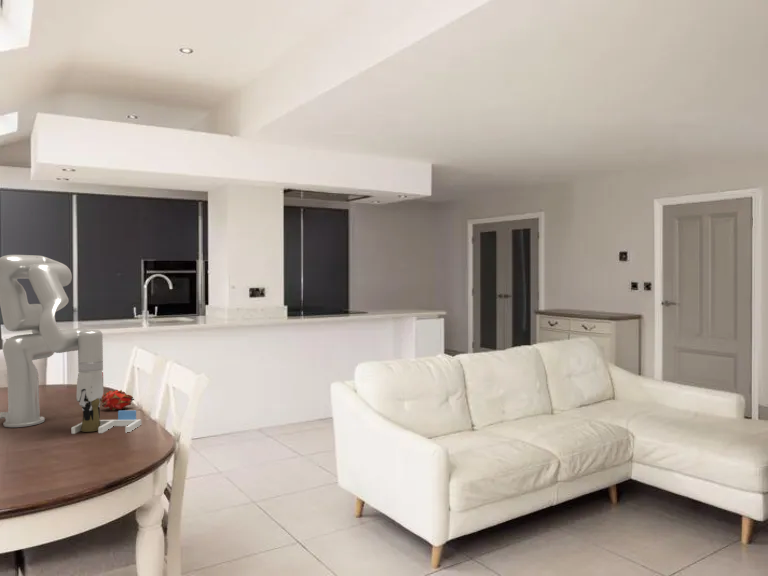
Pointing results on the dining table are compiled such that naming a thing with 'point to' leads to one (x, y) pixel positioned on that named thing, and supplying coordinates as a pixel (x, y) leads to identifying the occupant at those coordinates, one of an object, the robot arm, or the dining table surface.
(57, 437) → the dining table surface
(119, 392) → the dragon fruit
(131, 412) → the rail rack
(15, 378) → the robot arm
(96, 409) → the olive rounded piece
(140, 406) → the dining table surface
